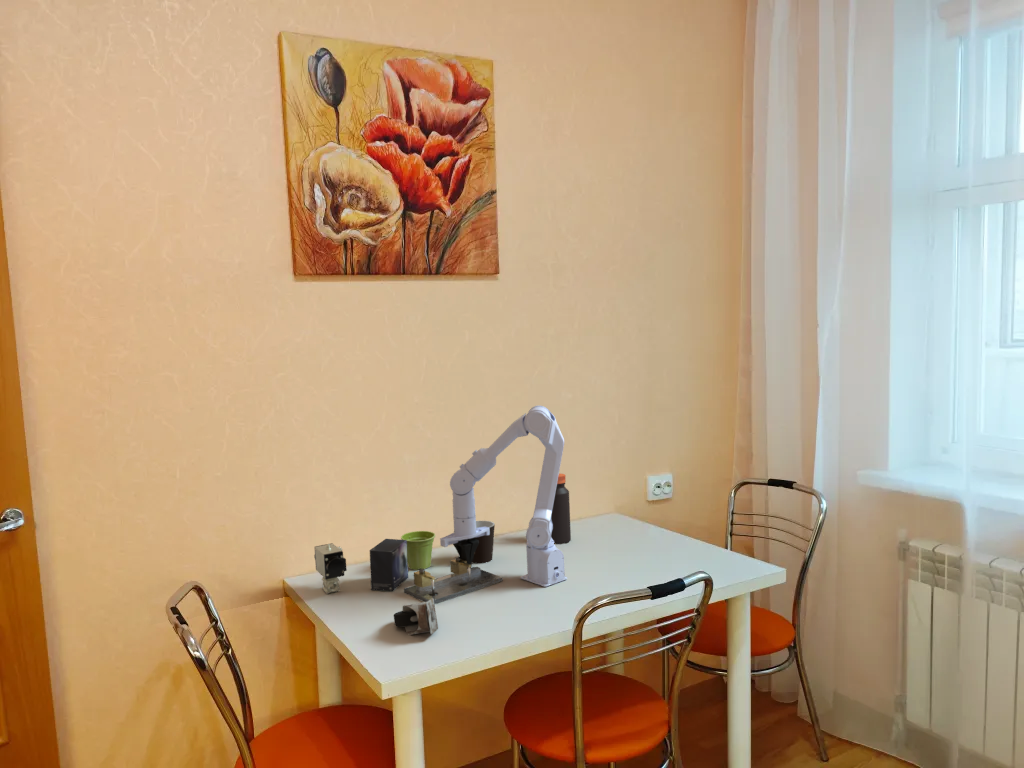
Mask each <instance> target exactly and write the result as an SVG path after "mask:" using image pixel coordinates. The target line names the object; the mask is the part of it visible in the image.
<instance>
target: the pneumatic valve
mask: <svg viewBox="0 0 1024 768" xmlns="http://www.w3.org/2000/svg"><path fill="white" fill-rule="evenodd" d="M313 556H314V561H315V571H317V573H318V574H319V575H320V576H322V577H321V581H322V585H323V587H322V591H324V592H325V594H328V593H329V594H330V593H335V592H337V591H338V592H339V591H340V590H341V589H340V584H339V582H340V579H339V578H340V577H344V576H345V572H347V570H348V569H347V559H346V558H345V557H344V551H343V548H342V547H341V546H336V545H335V544H334V543H328V544H321V545H316V546H314V555H313ZM329 594H328V595H329Z"/></svg>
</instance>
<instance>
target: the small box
mask: <svg viewBox="0 0 1024 768" xmlns="http://www.w3.org/2000/svg"><path fill="white" fill-rule="evenodd" d="M369 563H370V568H369V569H370V591H380V592H382V591H383V592H395V590H396V589H397V588H399V587H400V586H401V585H402V584H403V583H404V582H405V581H406V580H408V579H409V566H408V562H407V540H402V539H397V538H385V539H384V540H382V541H381V542H380V543H378V544H377V545H375V546H374V547H372V548H371V549H370V550H369Z"/></svg>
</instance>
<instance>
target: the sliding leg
mask: <svg viewBox="0 0 1024 768" xmlns="http://www.w3.org/2000/svg"><path fill="white" fill-rule="evenodd" d="M449 563H450V564H449V565H450V573H451V574H453V573H455V574H457V575H461V574H464V573H467V567H468V578H469V581H470V580H471V570H470V567H471V568H472V566H471V564H468V563H467V561H465V560H462V559H461V557H460V556H456V557H455V558H454V559H450V561H449Z"/></svg>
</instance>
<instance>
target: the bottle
mask: <svg viewBox="0 0 1024 768" xmlns="http://www.w3.org/2000/svg"><path fill="white" fill-rule="evenodd" d="M565 485H566V473H565V474H564V473H559V475H558V481H557V486H556V492H555V498H554V503H553V509H552V514H551V521H552V524H553V529H552V532H551V538H552V539H553V540H554V543H557V544H556V545H558V544H559V545H562V543H564V544H567V543H569V541H570V542H571V541H572V536H571V533H572V530H571V512H570V511H571V510H570V509H571V507H570V491H569V489H568V488H566V486H565Z"/></svg>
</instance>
